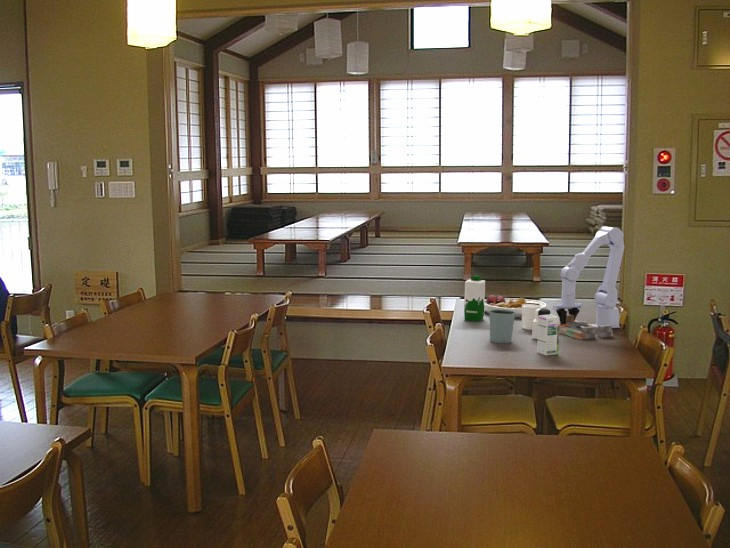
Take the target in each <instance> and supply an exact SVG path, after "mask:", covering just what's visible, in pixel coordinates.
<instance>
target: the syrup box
mask: <svg viewBox="0 0 730 548" xmlns="http://www.w3.org/2000/svg"><path fill="white" fill-rule="evenodd" d="M559 324H560V320H559V316H558V315H555V314H551V313H550V315H539V316H538V339H537V342H536V343H537V346H536V347H537V348H536V352H537V353H538V354H540V355H542V356H543V355H544V356H552V355H559V346H560V345H559V343H560V342H559V339H560V338H559V335H560V333H559Z"/></svg>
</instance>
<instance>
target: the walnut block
mask: <svg viewBox="0 0 730 548" xmlns="http://www.w3.org/2000/svg"><path fill="white" fill-rule="evenodd" d="M567 322H574V315H571V314H569V313H567V315H566V321H565V324H567ZM564 327H567V326H564Z"/></svg>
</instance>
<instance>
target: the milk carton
mask: <svg viewBox="0 0 730 548" xmlns="http://www.w3.org/2000/svg"><path fill="white" fill-rule="evenodd" d="M485 300H486V280H483V279H482V276H481V275H476V274H475V275H473V274H472V275H471V279H466V281H464V303H463V305H464V306H463V309H464V312H463V314H464V315H463V316H464V317H463V319H464V321H466V322H468V321H469V322H477V323H478V322H481V321H483V320H484V316H485V310H484V305H485Z"/></svg>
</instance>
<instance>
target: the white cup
mask: <svg viewBox="0 0 730 548" xmlns="http://www.w3.org/2000/svg"><path fill="white" fill-rule="evenodd" d="M539 308H540V306H539V305H534V304H524V305H522V318H521V325H522V326H521V328H522V329H523V330H530V331H531V330H532V325H533V321H534V320H535V310H536V309H539Z"/></svg>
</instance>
